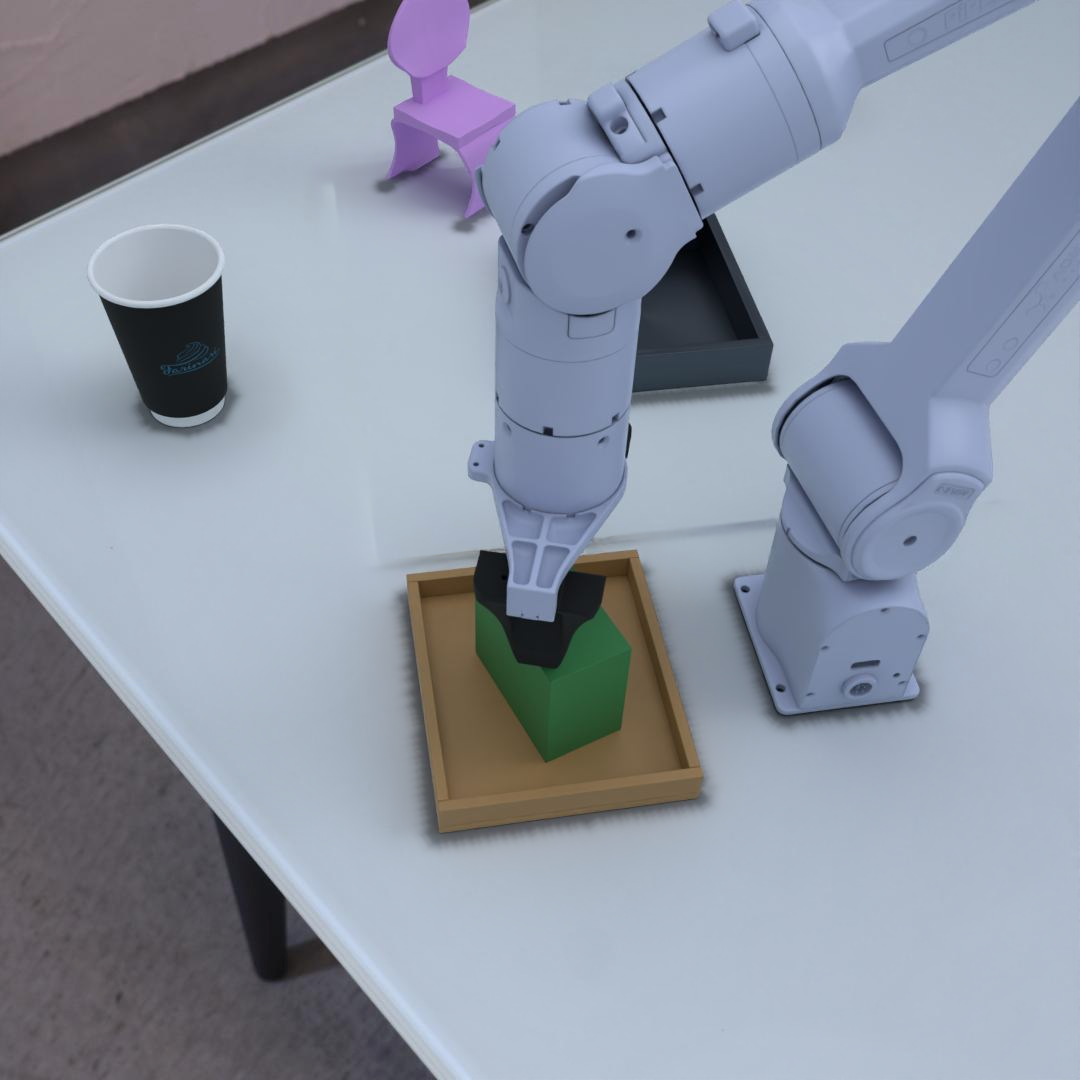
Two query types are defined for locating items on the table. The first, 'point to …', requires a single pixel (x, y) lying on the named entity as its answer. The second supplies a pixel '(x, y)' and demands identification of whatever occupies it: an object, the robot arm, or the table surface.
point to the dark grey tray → (701, 321)
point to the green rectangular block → (561, 683)
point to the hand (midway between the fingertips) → (551, 598)
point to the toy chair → (440, 92)
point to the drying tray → (499, 738)
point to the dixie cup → (167, 316)
